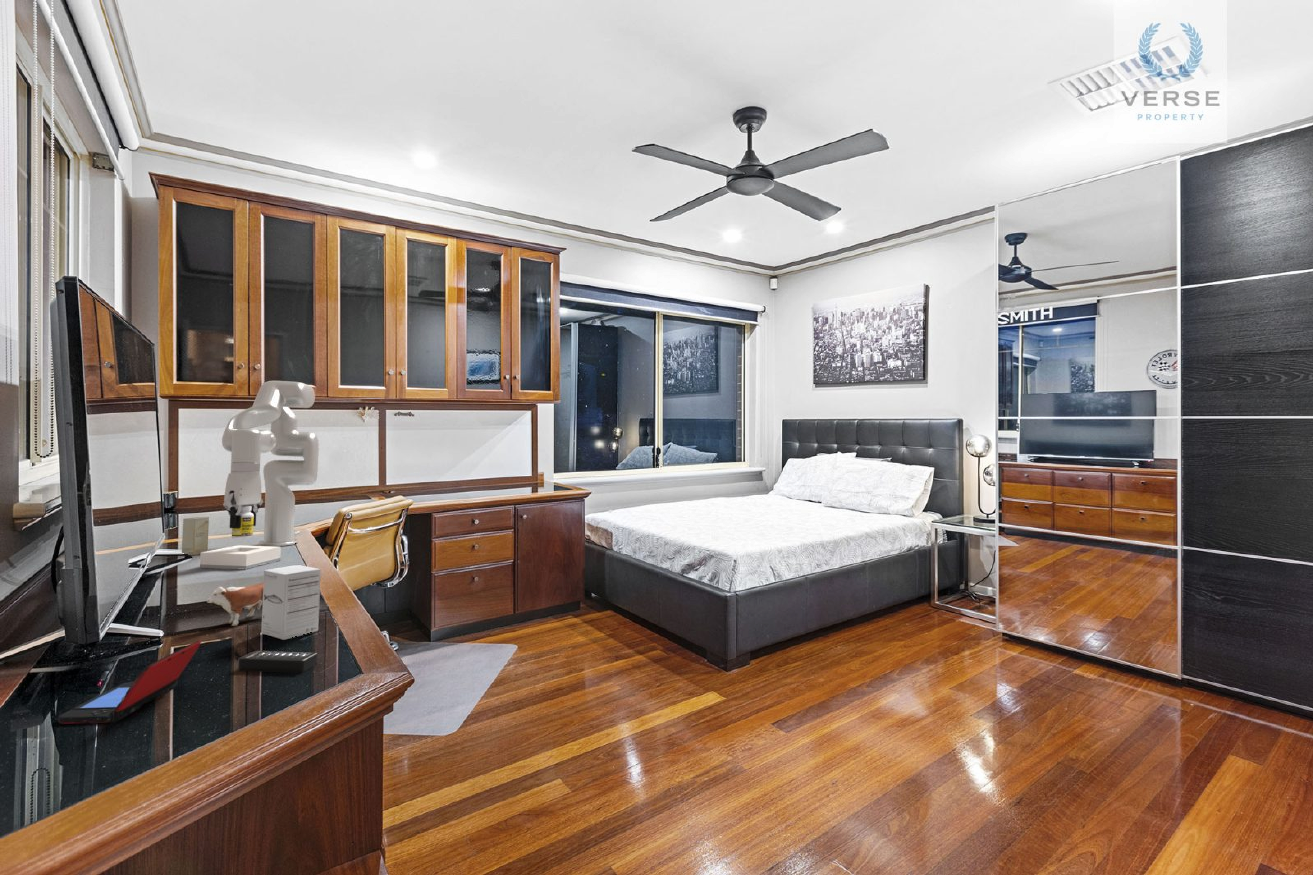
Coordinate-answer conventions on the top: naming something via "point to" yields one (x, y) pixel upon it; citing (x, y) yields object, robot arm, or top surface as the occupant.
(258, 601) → the bull figurine
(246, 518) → the supplement bottle
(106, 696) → the handheld game console
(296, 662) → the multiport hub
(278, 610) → the supplement box
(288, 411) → the robot arm
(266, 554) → the sleeve holder
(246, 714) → the top surface
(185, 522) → the skincare box
